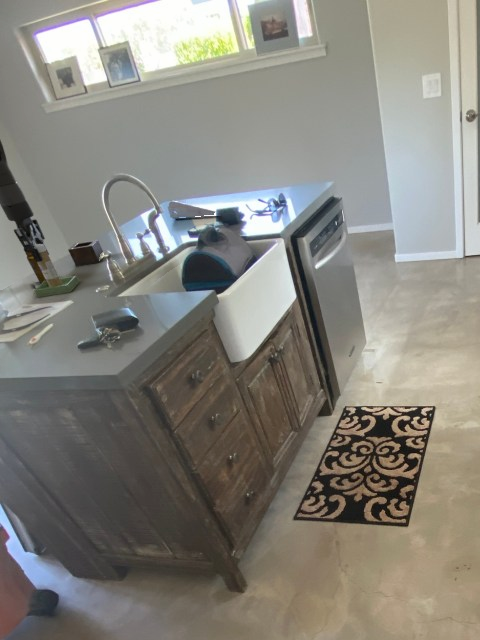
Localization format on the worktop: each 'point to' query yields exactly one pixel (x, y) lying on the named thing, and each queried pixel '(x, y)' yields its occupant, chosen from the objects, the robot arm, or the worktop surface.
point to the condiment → (35, 268)
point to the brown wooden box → (86, 252)
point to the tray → (57, 287)
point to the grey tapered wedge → (187, 211)
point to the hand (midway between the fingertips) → (42, 258)
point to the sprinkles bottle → (48, 267)
